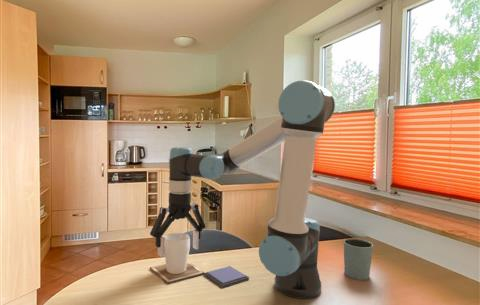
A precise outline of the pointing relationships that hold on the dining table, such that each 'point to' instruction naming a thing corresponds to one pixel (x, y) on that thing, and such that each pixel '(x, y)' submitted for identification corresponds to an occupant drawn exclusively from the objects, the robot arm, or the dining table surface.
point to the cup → (176, 252)
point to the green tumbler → (357, 258)
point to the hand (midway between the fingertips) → (178, 252)
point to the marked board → (172, 278)
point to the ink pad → (226, 276)
